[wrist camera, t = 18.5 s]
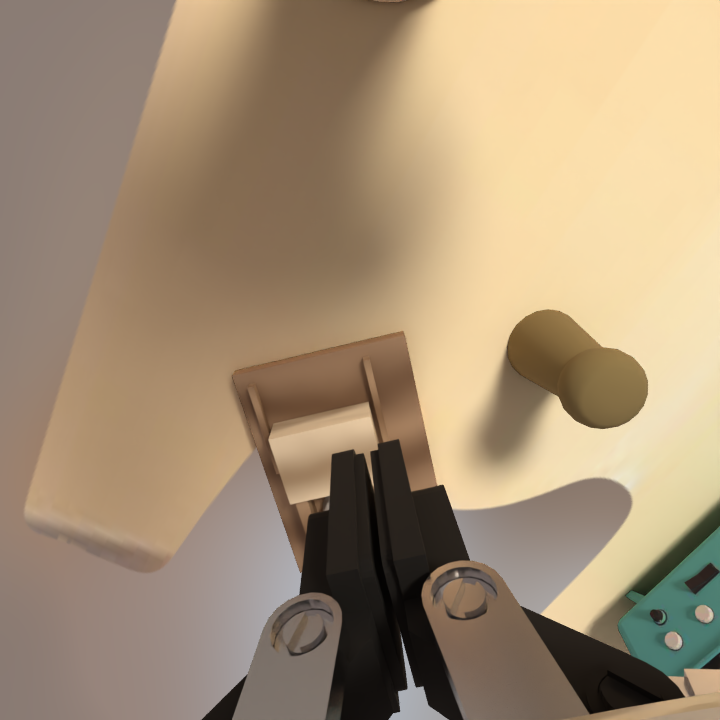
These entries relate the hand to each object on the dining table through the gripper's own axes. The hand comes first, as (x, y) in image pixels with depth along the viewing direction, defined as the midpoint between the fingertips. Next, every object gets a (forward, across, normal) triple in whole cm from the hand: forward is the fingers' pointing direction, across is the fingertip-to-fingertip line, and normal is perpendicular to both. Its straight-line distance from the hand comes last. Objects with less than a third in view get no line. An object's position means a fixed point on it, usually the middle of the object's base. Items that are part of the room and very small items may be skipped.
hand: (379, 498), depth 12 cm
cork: (+27, -14, +8) cm, 32 cm away
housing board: (+27, +4, +14) cm, 31 cm away
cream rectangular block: (+26, +5, +12) cm, 29 cm away
